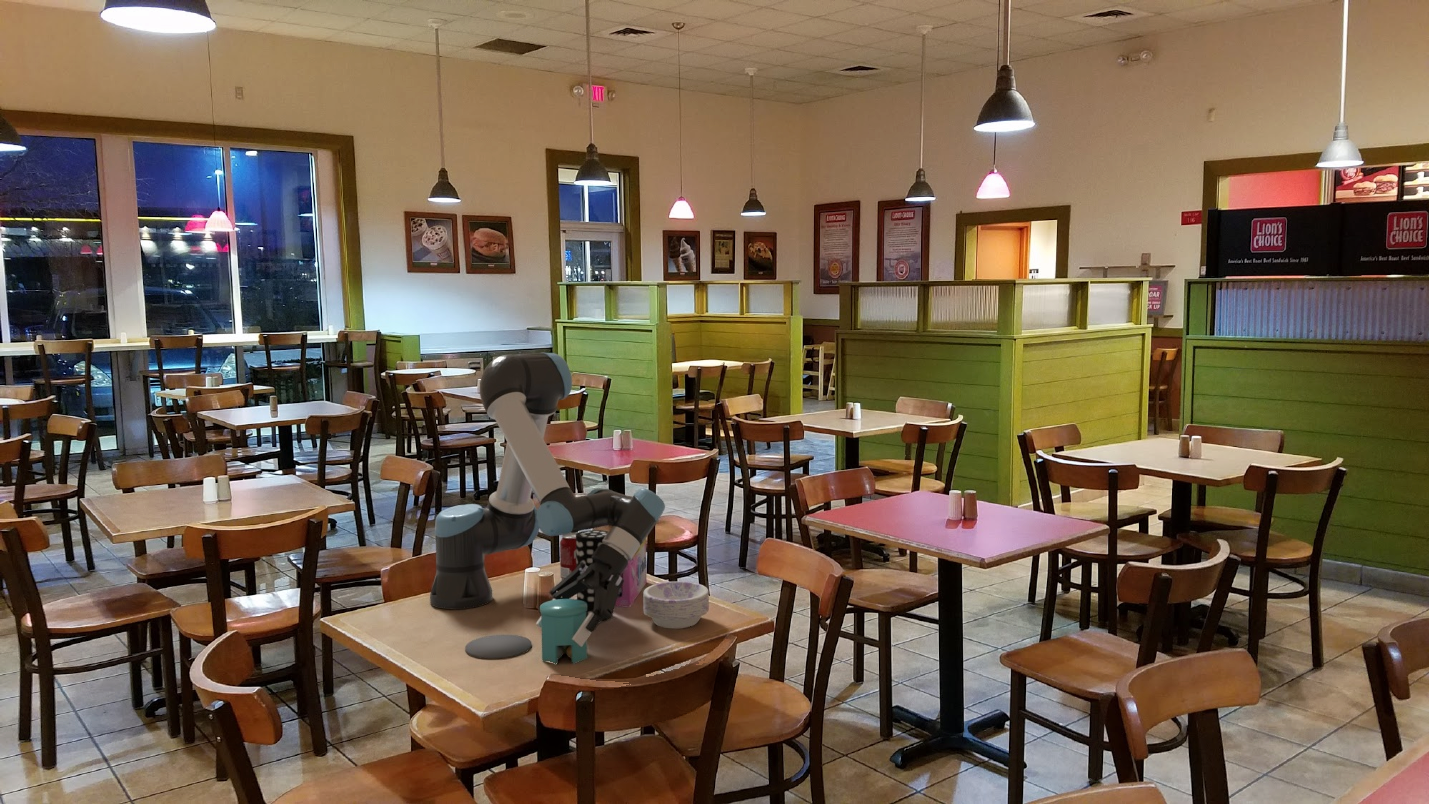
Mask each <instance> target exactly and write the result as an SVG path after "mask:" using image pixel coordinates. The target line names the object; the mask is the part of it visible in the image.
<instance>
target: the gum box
mask: <svg viewBox="0 0 1429 804" xmlns="http://www.w3.org/2000/svg"><path fill="white" fill-rule="evenodd" d="M620 577H621V578H622V579H623V580H624V582H623V584H622V586H621V588H620V590H619V594H618V597H617V601H616V604H615V607H618V608H619V607H623V608H625V607H627V608H630V607H631V606H632V604H633V603H634V602H635V600H636V598H637V597H638V596H639V594H640V593H641V592H642V590H643V589H644V588H645V585H646V584H647V581H648V580H647V579H648V578H647V538H646V539H645V540H644V541H643V543H642V544H641V546H640V547H639V548H638V550H637V551H636V553H635V554H634V556H633V557H632V559H631V560H629V561H628V565H627V567H626V568H625V570H624V571H623V573H622V574H621V575H620Z"/></svg>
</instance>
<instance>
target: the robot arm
mask: <svg viewBox="0 0 1429 804" xmlns="http://www.w3.org/2000/svg"><path fill="white" fill-rule="evenodd" d="M572 387H573V377H572V373H571V370H570V367H569V365H568V363H567V361H566V360H565V359H564V358H563V357H562V356H561V355H559V354H557V353H554V352H545V351H543V352H537V353H521V354H520V353H518V354H517V353H515V354H503V355H500V356H498V357H495V358H494V359H493V360H491V361H490V362H489V363H488V364H487V366H486V367H485V368H484V371H483V372H482V374H481V377H480V382H479V395H480V400H481V403H482V406H483V409H484V410H485V412H486V414H487V416H488V417H489V418H490V419H492V420H495V422H496V424H497V426H498V428H499V429H500V431H501V433H502V434H503V437H504V439H505V440H506V446H505V450H504V455H503V460H502V466H501V470H500V475H499V478H498V484H497V488H496V491H494V492H492V493H491V494H490V495H489V498H488V502H487V505H486V507H485V508H484V507H483V506H481V505H479V504H476V503H467V504H460V505H455V506H451V507H448V508H445V509H443V510H442V511H440V512H439V513H438V514H437V515H436V517H435V524H434V536H435V558H436V560H435V562H436V564H435V565H436V566H435V567H436V573H435V576H434V580H433V582H432V587H431V589H430V592H429V593H430V594H429V603H430V605H432V606H433V607H435V608H437V609H438V608H439V609H445V610H464V609H473V608H478V607H480V606H484V605H486V604H488V603H489V604H490V602H491V601H493V588H492V586H491V583H490V579H489V577H488V575H487V571H486V569H485V556H487V555H491V554H496V553H500V552H505V551H509V550H510V551H511V550H513V551H515V550H519V549H520V548H523V547H527V546H528V545H531V544H532V543H533V542H534V541H535V540H536V538H537V536H538V534H539V530H540V532H542V533H543V534H544V535H546V536H548V537H555V536H562V535H567V534H568V533H578V532H582V531H588V530H593V529H597V528H601V527H606V526H607V527H608V526H609V527H610V526H611V528H610V529H609V531H608V533H607V535H606V536H605V537H604V539H603V540H602V542H603V544H600V545H599V546H598V548H597V549H596V551H595V552H594V553H593V555H592V560H593V562H592V564H591V565H590V566H589V567H588V566H586V565H585V564H584V563H583V562H581V563H580V564H579V565H578V566H577V568H576V569H575V570H574V571H573V572H571V573H570V574H569V575H568V576H567V577H566V578H564V579H562V580H561V581H560V582H558V583H557V584H556V585H555V586H554V587H552V588H551V589H550V591H549V592H548V593H549V595H551V597H552V599H551V600H557V599H572V598H573V597H574V596H577V594H578V593H579V592H581V591H583V590H588V589H591V590H595V601H594V610H593V611H592V612H593V613H594V614H592V613H589V615H588V616H587V617H586V619H585V620H584V622H583V623H582V625H581V626H580V628H579V629H578V631H577V632H576V634H575V635H574V636H573V638H572V640H573V641H575V642H576V643H577V644H578V645H579V646H581V647H582V646H583V644H584V643H585V641H586V640H587V641H588V639H589V637H590V636H591V634H592V633H593V632H595V630H596V628H597V627H598V626H599V624H600V623H601V622H600V621H601V620H604V619H606V618H607V619H608V620H607V621H609V620H611V619H612V618H613V616H612V615H613V614H614V611H615V607H616V606H615V604H616V601H617V597H618V594H619V590H620V588H621V586H622V584H623V582H624V580H623V579H622V578H621V577H620V575H621V574H622V573H623V571H624V570H625V568H626V567H627V565H628V561H629V560H631V559H632V557H633V556H634V554H635V553H636V551H637V550H638V548H639V547H640V546H641V544H642V543H643V541H644V540H645V539H646V540H647V538H648V536H649V534H650V533H651V531H652V530H653V528H654V527H655V525H656V524H657V523H659V520H660V518H661V517H662V515H663V513H664V512H665V509H666V505H665V502H664V500H663V499H662V498H661V497H660V496H659V495H658V494H656V493H655V492H654V491H652V490H650V489H648V488H644V487H643V488H639V489H638V490H637V491H636V492H635V493H634V494H633V495H626V494H623V493H619V492H617V491H613V490H612V489H608V488H599V487H598V488H594V489H592V490H591V491H589V492H588V493H587V494H586V495H580V496H575V494H574V492H573V491H572V488H571V487H570V486H569V483H568V482H567V480H566V478H565V476H564V474H563V472H562V470H561V469H560V467H559V465H558V463H557V461H556V459H555V458H554V455H553V454H552V451H551V450H550V448H549V446H548V445H547V443H546V441H545V434H546V430H547V429H546V428H547V425H548V421H549V420H548V419H549V417H550V416H552V415H553V414H555V413H556V411H557V408H558V403H559V401H562V400H565V399H566V398H567V397H568V396H569V395H570V394H571V391H572ZM532 493H534V495H535V497H536V499H537V501H538V503H539V505H540V506H539V507H538V508H537V507H536V506H535V502H534V500H533V499H532V498H531V496H532ZM583 580H584V581H583ZM607 609H608V611H607ZM535 625H537V626H538V627H539V628H541V630H542V625H541V616H539V617H538V620H537V621H536V623H535Z"/></svg>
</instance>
